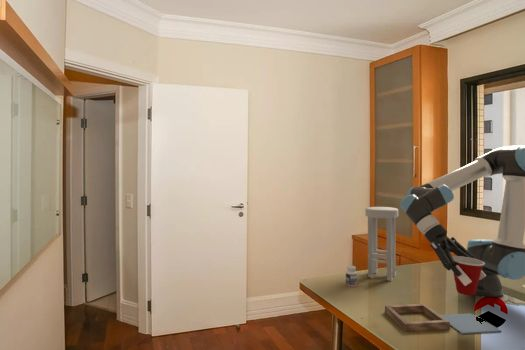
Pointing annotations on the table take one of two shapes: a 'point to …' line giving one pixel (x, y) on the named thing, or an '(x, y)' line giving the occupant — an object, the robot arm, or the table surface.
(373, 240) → the stool
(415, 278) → the table surface
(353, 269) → the pill bottle
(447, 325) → the wooden frame
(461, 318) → the coaster
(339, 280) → the table surface
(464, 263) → the plastic cup
